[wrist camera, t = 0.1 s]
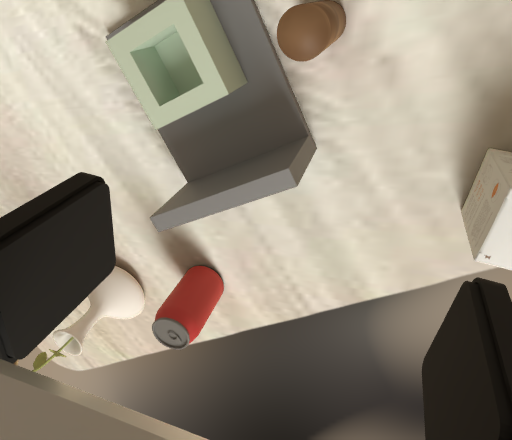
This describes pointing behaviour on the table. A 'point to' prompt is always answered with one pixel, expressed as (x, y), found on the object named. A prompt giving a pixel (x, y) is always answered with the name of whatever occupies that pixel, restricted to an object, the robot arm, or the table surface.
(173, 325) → the beer can
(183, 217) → the board
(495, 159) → the small box
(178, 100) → the sage block
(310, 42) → the walnut dowel
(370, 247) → the table surface
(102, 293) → the flower in vase
